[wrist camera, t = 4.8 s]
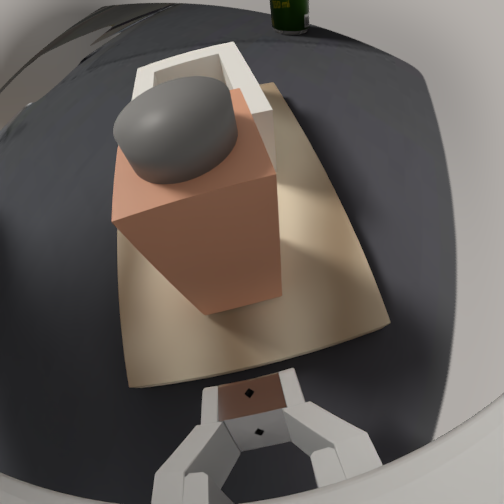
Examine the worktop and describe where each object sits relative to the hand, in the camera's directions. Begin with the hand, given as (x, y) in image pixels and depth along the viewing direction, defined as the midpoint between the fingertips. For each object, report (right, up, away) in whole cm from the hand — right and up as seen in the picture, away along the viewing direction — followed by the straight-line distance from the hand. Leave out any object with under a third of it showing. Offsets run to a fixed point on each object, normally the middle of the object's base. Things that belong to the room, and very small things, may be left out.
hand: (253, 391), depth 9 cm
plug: (-1, +4, +7) cm, 8 cm away
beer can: (+6, +37, +24) cm, 44 cm away
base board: (-2, +8, +11) cm, 14 cm away
